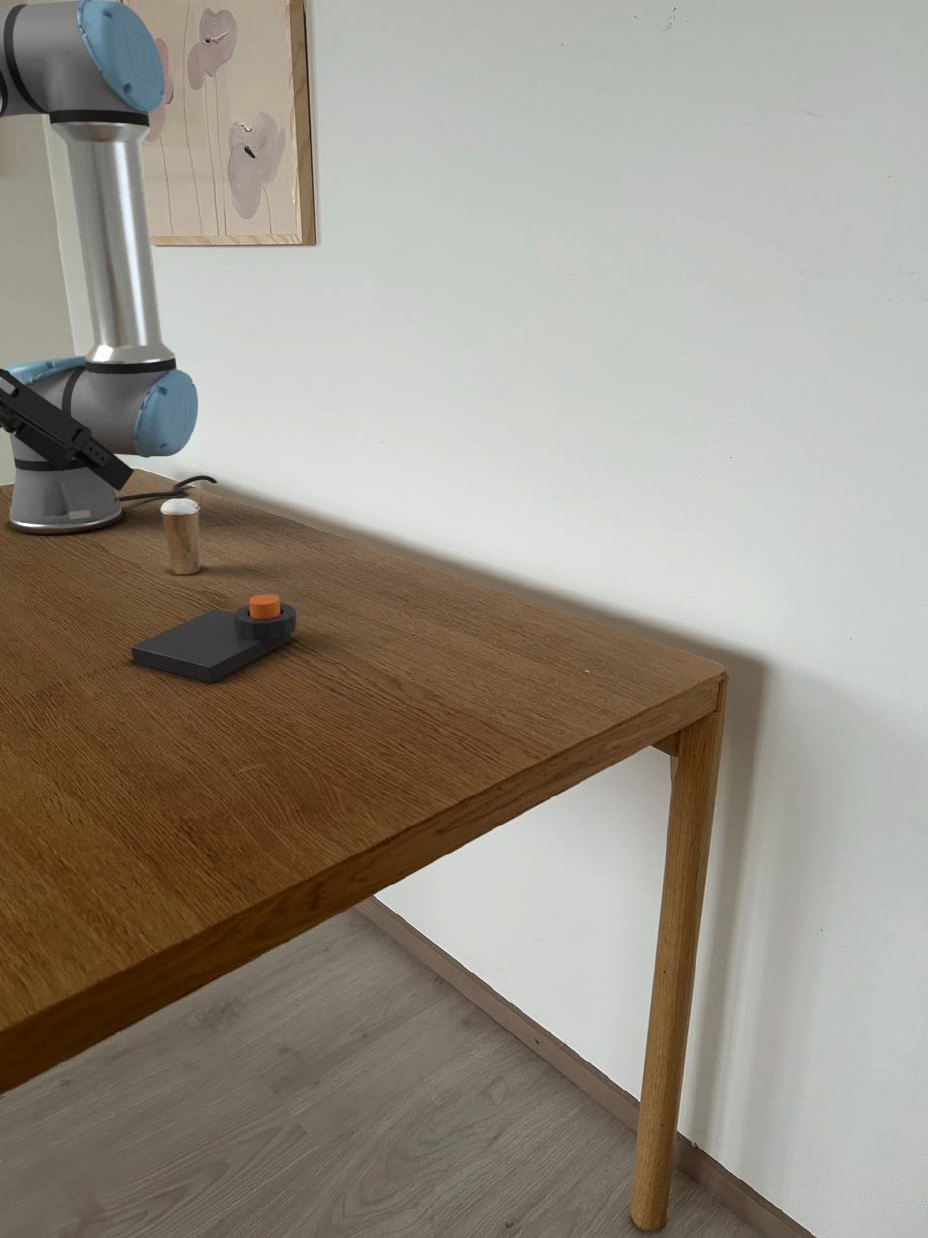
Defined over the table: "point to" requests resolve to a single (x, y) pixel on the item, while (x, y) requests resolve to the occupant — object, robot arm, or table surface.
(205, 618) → the scale
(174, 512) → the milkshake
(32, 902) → the table surface
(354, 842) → the table surface
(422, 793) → the table surface
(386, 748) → the table surface
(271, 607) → the button
